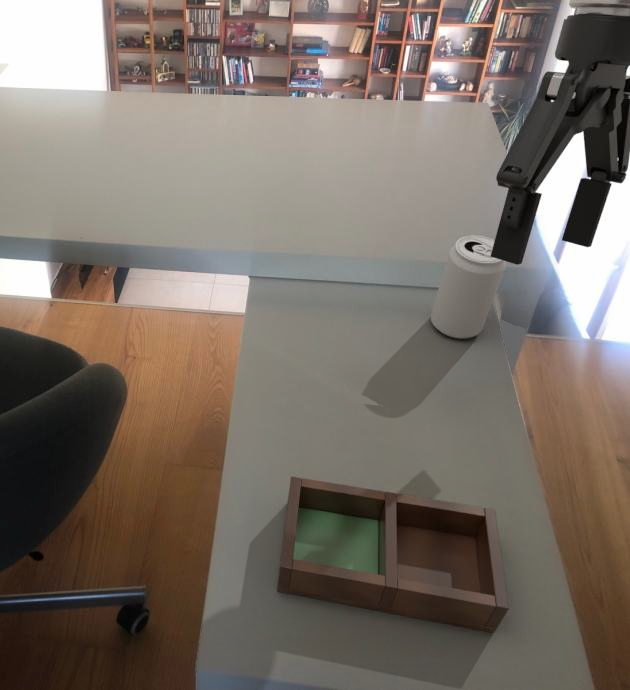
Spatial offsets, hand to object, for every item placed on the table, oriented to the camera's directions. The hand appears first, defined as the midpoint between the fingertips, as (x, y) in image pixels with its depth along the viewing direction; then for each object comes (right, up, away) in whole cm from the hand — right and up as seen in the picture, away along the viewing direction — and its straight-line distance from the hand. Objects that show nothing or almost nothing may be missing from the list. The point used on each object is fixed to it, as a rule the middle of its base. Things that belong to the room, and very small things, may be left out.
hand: (542, 251), depth 69 cm
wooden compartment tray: (-17, -30, -4) cm, 34 cm away
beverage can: (0, -7, +20) cm, 21 cm away
